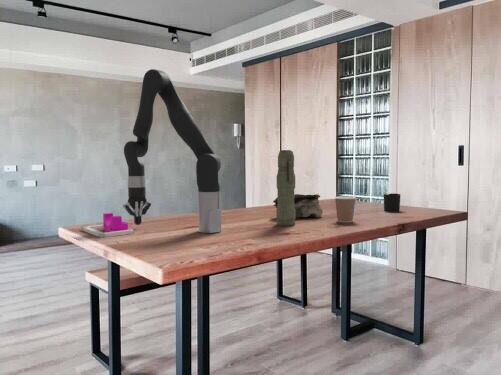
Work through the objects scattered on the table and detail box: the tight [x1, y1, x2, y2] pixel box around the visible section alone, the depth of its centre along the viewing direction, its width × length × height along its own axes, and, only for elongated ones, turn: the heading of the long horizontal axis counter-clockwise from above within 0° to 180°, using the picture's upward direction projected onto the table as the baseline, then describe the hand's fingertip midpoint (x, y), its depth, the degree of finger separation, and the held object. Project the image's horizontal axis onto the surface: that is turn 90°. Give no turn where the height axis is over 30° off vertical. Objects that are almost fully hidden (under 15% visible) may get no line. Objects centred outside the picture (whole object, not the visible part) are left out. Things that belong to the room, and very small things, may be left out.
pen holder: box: [383, 193, 401, 213], centre depth 248 cm, size 9×9×10 cm
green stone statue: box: [275, 149, 296, 227], centre depth 197 cm, size 9×12×35 cm
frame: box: [81, 224, 135, 239], centre depth 181 cm, size 23×14×2 cm, turn 39°
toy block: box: [102, 212, 129, 232], centre depth 182 cm, size 15×6×8 cm, turn 33°
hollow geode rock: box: [272, 193, 324, 219], centre depth 220 cm, size 28×13×15 cm
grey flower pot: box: [334, 195, 357, 223], centre depth 207 cm, size 10×10×12 cm
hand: (137, 224), depth 189 cm, fingers closed
